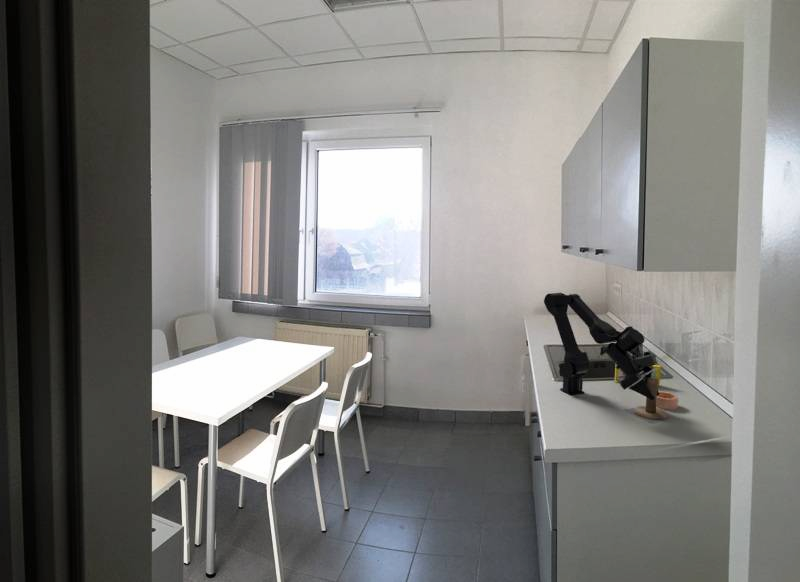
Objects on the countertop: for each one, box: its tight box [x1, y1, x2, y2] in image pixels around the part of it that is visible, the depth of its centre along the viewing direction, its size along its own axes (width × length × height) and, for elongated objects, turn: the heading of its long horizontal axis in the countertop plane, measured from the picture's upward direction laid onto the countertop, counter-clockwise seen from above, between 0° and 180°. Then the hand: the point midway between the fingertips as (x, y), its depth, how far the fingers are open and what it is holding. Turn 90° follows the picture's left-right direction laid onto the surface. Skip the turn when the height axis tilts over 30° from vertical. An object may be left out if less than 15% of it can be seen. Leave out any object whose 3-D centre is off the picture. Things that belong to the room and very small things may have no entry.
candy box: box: [614, 364, 662, 387], centre depth 185 cm, size 16×2×8 cm, turn 71°
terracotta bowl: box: [656, 390, 679, 411], centre depth 160 cm, size 8×8×4 cm
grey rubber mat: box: [622, 407, 681, 424], centre depth 152 cm, size 12×12×1 cm
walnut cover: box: [633, 377, 669, 420], centre depth 151 cm, size 10×10×12 cm
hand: (656, 397), depth 151 cm, fingers open, 5 cm apart
